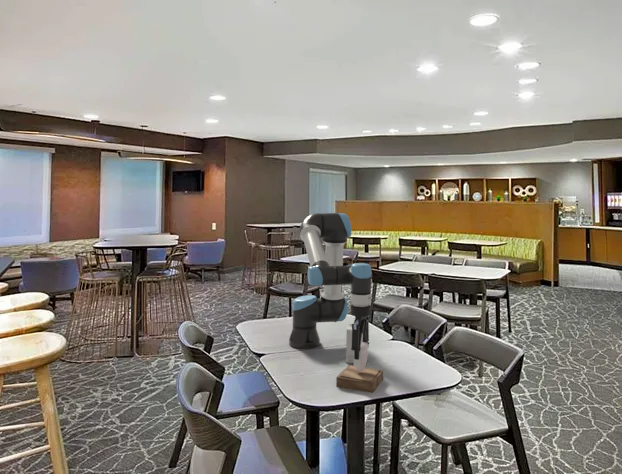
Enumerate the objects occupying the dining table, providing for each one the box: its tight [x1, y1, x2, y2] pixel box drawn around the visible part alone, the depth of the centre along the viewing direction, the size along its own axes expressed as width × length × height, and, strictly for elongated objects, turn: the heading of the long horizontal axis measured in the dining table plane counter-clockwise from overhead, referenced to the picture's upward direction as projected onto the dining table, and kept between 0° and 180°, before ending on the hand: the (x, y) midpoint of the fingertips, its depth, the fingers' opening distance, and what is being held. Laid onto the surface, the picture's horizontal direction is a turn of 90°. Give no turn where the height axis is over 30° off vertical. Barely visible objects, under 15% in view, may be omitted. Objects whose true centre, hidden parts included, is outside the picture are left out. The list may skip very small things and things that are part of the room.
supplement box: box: [345, 323, 369, 364], centre depth 191 cm, size 9×9×15 cm
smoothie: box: [353, 333, 370, 371], centre depth 166 cm, size 6×6×14 cm
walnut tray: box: [335, 364, 384, 394], centre depth 167 cm, size 14×14×4 cm
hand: (360, 364), depth 166 cm, fingers closed on smoothie, 6 cm apart
